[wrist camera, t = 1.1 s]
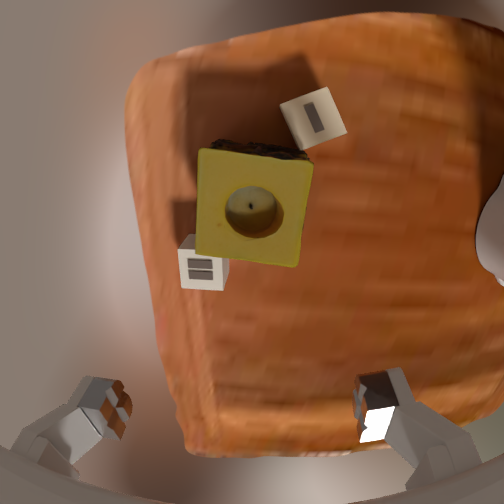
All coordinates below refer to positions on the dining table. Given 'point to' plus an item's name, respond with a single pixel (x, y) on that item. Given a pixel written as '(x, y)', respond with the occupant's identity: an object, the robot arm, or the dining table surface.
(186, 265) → the cream block marked
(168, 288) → the dining table surface
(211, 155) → the candle
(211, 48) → the dining table surface
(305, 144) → the beech block marked
